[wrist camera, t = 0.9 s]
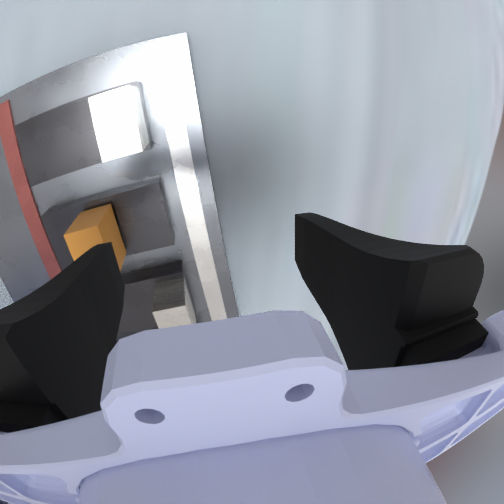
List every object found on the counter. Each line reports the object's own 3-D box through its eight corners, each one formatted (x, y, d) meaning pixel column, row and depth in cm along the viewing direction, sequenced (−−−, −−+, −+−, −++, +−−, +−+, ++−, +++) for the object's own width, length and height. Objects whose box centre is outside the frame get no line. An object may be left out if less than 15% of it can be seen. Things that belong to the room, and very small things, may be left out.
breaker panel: (70, 374, 26) (60, 419, 21) (-41, 126, 13) (-88, 141, 8) (244, 344, 28) (257, 393, 23) (186, 36, 15) (187, 12, 10)
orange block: (97, 258, 18) (85, 287, 15) (80, 212, 16) (63, 235, 13) (126, 252, 18) (118, 280, 15) (110, 203, 16) (97, 225, 14)
